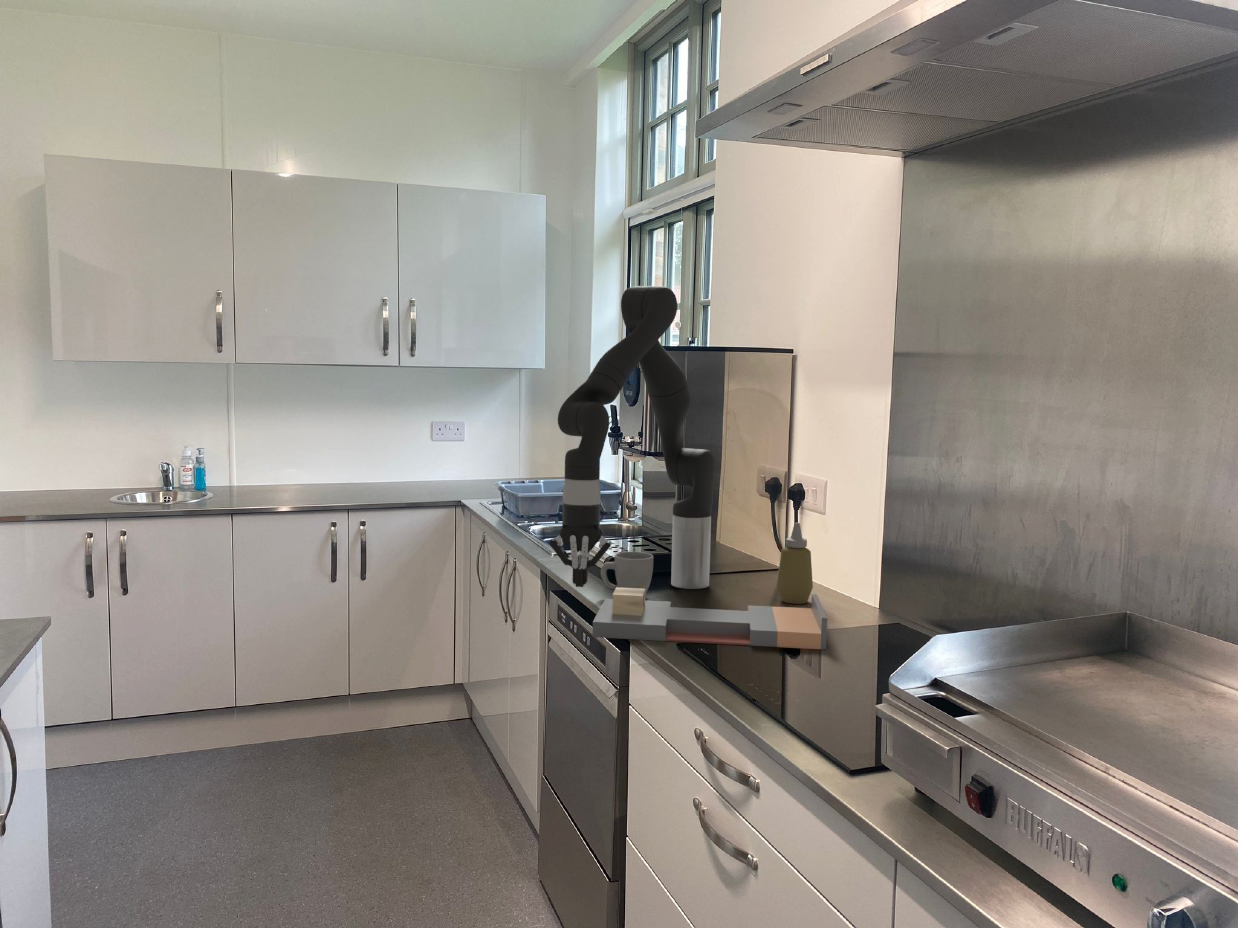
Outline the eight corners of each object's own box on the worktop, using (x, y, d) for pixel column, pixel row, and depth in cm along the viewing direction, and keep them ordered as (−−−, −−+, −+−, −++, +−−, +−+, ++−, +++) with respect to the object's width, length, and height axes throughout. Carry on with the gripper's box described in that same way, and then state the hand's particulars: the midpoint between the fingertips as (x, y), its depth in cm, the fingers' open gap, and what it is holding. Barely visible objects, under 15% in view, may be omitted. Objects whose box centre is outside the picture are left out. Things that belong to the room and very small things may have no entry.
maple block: (615, 606, 176) (616, 587, 176) (645, 607, 175) (645, 588, 175) (612, 614, 170) (612, 594, 170) (642, 615, 169) (642, 595, 169)
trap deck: (605, 612, 183) (605, 584, 182) (815, 622, 178) (816, 594, 177) (592, 636, 165) (593, 606, 164) (825, 649, 160) (827, 618, 159)
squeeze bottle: (773, 604, 192) (776, 524, 190) (778, 595, 200) (781, 519, 198) (810, 607, 190) (814, 527, 188) (813, 598, 197) (816, 521, 196)
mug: (648, 591, 201) (649, 551, 200) (656, 601, 193) (656, 558, 192) (597, 592, 200) (598, 551, 199) (603, 602, 191) (603, 559, 190)
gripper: (616, 500, 175) (614, 583, 176) (552, 497, 176) (551, 580, 178) (612, 504, 167) (609, 592, 169) (545, 502, 169) (543, 588, 170)
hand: (579, 585), depth 173 cm, fingers closed
